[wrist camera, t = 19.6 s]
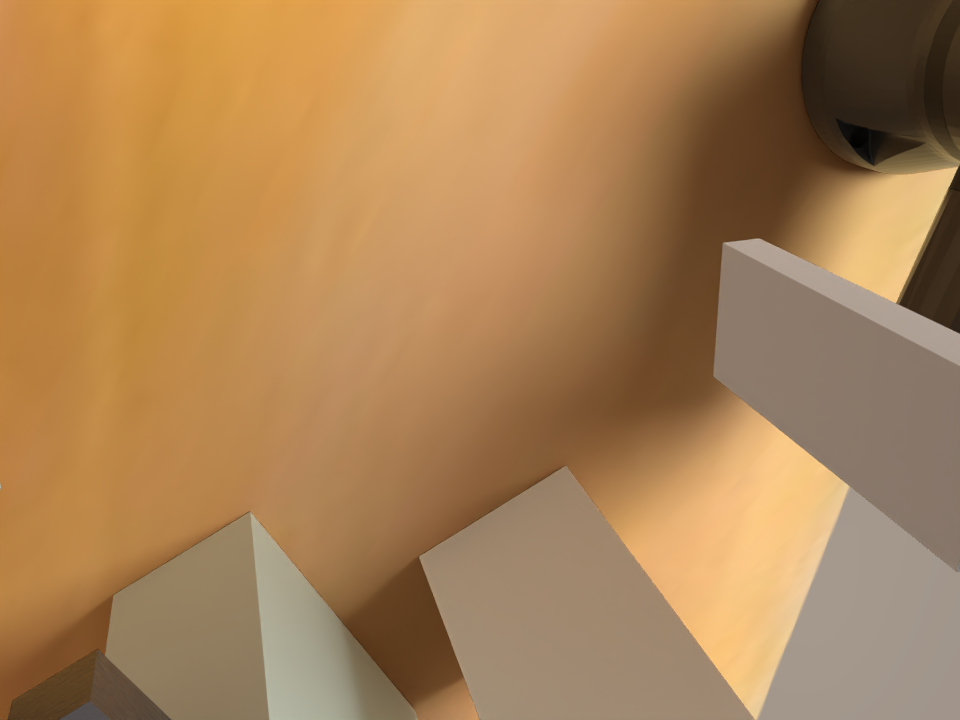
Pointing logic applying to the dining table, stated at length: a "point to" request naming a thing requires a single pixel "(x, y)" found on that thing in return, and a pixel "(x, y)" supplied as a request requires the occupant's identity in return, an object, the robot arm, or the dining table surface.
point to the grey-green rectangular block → (243, 639)
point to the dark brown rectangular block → (86, 695)
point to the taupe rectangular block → (567, 618)
